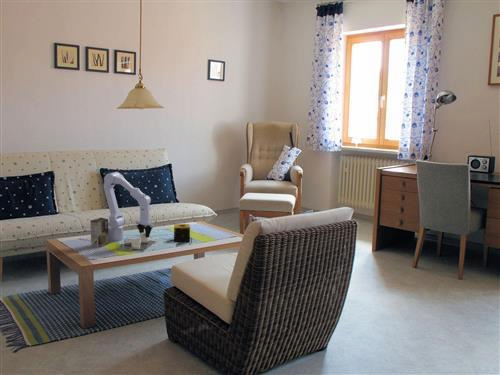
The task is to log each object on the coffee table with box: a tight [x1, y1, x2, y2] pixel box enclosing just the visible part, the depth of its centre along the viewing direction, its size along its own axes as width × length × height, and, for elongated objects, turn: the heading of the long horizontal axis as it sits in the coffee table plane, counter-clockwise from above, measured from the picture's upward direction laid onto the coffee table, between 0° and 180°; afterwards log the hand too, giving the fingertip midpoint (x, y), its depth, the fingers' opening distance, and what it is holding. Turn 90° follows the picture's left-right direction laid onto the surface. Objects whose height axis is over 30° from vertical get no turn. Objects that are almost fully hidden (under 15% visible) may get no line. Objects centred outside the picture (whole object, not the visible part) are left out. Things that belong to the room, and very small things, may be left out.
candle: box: [173, 223, 191, 243], centre depth 327 cm, size 10×10×10 cm
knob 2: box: [139, 231, 150, 243], centre depth 315 cm, size 6×5×6 cm
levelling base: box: [116, 238, 157, 253], centre depth 309 cm, size 16×24×4 cm
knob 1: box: [130, 237, 141, 249], centre depth 301 cm, size 6×5×6 cm
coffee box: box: [90, 217, 110, 248], centre depth 311 cm, size 9×6×16 cm
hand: (144, 236), depth 315 cm, fingers open, 4 cm apart
